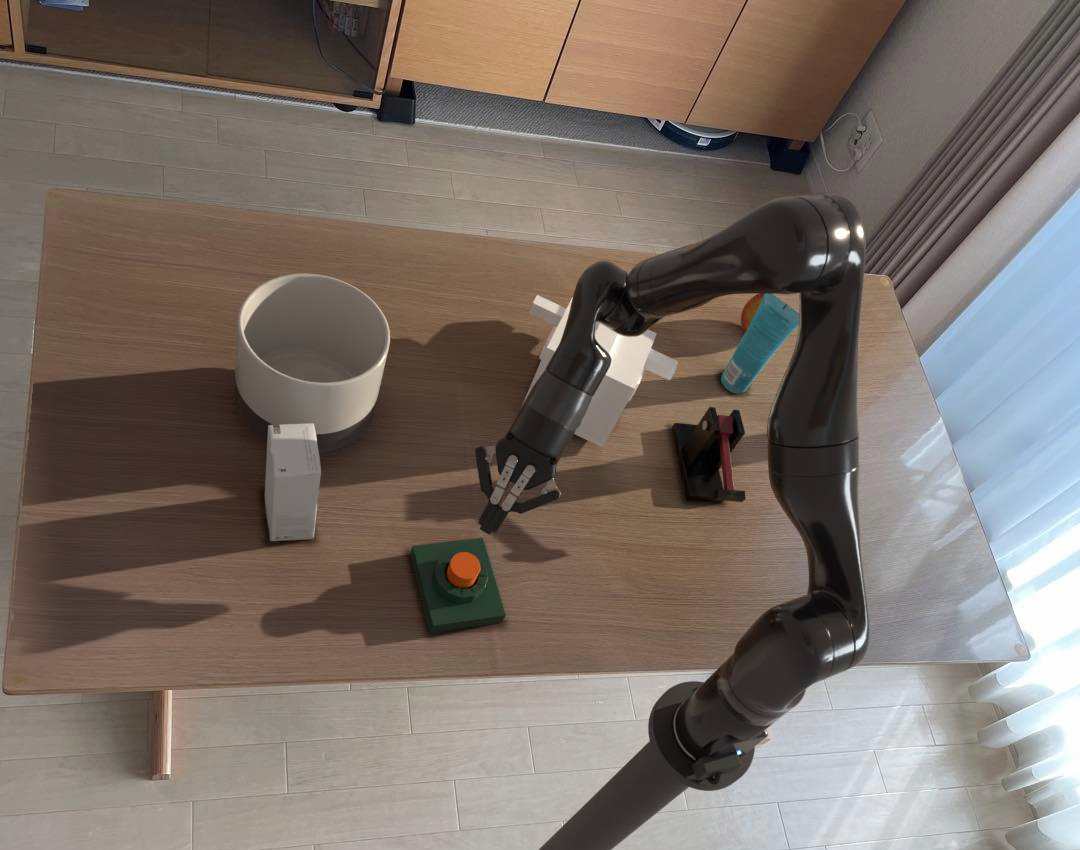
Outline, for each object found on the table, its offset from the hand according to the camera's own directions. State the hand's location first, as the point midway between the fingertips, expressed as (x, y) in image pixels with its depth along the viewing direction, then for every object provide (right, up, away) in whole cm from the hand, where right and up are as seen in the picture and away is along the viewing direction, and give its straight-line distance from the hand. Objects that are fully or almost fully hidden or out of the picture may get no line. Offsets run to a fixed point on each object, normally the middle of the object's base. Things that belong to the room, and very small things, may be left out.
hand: (485, 531), depth 130 cm
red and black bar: (+34, +10, +20) cm, 41 cm away
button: (-3, -6, +2) cm, 7 cm away
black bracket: (+32, +10, +29) cm, 44 cm away
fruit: (+45, +34, +50) cm, 76 cm away
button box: (-4, -8, +5) cm, 10 cm away
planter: (-27, +17, +14) cm, 34 cm away
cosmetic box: (-27, +2, +4) cm, 27 cm away
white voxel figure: (+14, +24, +33) cm, 44 cm away
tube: (+40, +24, +42) cm, 63 cm away
